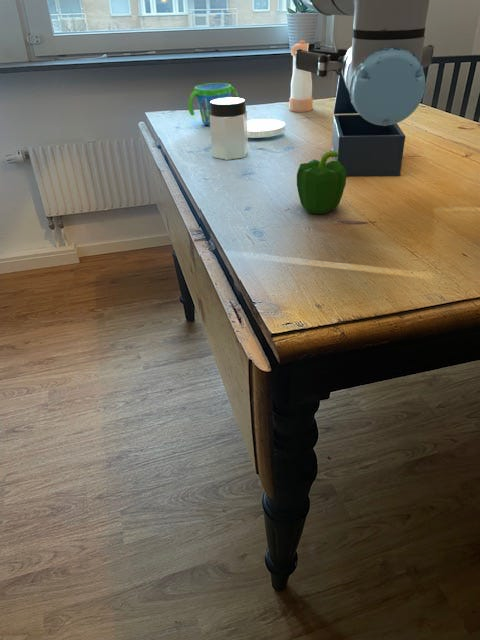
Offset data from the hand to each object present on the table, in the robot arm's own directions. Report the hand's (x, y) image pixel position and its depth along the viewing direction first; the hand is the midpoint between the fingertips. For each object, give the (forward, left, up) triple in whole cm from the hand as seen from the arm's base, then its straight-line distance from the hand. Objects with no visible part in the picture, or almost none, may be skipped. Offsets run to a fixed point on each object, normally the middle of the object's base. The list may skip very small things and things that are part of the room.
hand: (358, 51), depth 82 cm
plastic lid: (+48, -5, -24) cm, 54 cm away
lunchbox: (+14, -14, -24) cm, 31 cm away
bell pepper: (-5, +9, -24) cm, 26 cm away
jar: (+35, +9, -24) cm, 44 cm away
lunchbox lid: (+16, -15, -9) cm, 24 cm away
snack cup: (+67, 0, -24) cm, 72 cm away
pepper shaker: (+69, -30, -24) cm, 79 cm away
